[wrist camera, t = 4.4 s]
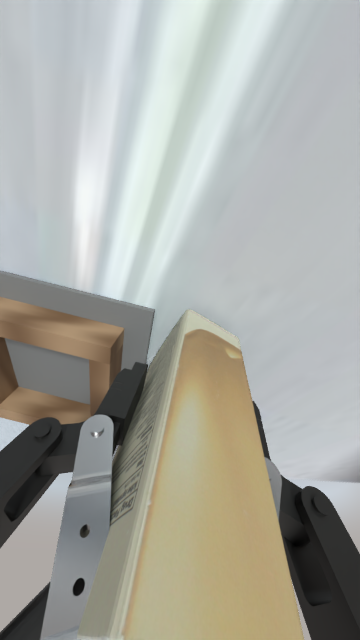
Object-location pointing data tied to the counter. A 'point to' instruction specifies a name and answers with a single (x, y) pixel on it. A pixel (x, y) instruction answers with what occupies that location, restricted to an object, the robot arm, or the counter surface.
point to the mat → (60, 368)
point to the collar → (62, 336)
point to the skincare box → (192, 508)
